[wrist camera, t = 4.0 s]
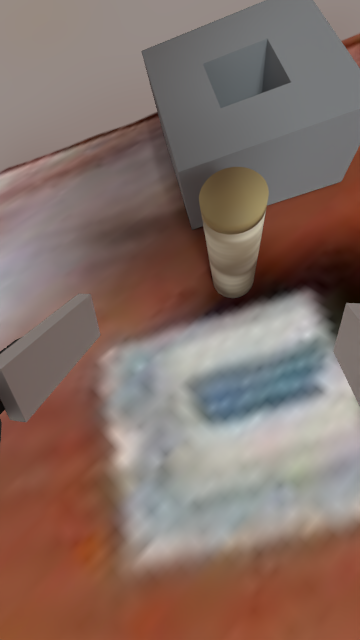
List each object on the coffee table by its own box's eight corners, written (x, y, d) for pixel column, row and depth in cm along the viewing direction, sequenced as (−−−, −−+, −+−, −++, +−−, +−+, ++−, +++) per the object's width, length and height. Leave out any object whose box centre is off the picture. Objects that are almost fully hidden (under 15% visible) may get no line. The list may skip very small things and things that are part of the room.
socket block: (286, 80, 33) (302, -15, 25) (341, 181, 28) (381, 100, 20) (161, 126, 34) (141, 51, 27) (192, 229, 30) (178, 172, 22)
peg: (246, 256, 28) (255, 157, 16) (259, 291, 26) (278, 211, 15) (208, 267, 28) (191, 180, 17) (219, 302, 27) (208, 233, 15)
